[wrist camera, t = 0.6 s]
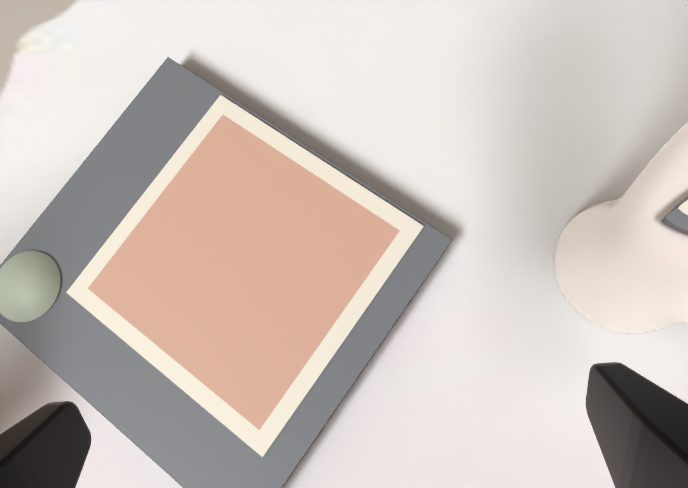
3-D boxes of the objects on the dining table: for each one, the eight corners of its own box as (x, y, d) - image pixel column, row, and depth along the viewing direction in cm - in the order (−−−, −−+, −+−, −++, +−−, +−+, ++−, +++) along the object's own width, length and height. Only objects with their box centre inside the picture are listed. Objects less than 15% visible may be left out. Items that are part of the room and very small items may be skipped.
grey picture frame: (449, 244, 22) (451, 239, 21) (250, 532, 21) (242, 542, 20) (176, 67, 26) (167, 56, 25) (-10, 300, 25) (-29, 298, 23)
